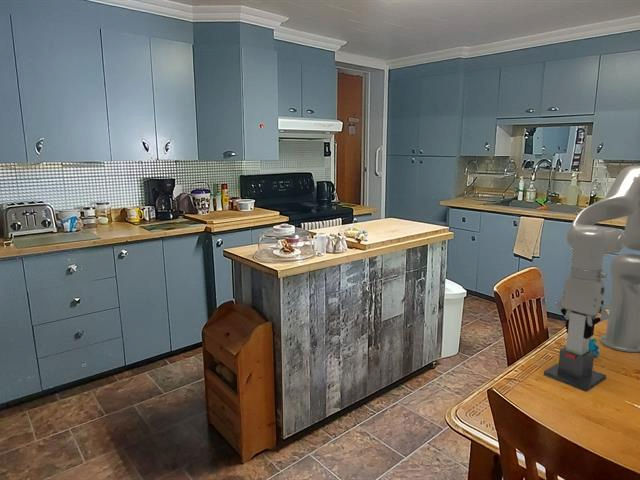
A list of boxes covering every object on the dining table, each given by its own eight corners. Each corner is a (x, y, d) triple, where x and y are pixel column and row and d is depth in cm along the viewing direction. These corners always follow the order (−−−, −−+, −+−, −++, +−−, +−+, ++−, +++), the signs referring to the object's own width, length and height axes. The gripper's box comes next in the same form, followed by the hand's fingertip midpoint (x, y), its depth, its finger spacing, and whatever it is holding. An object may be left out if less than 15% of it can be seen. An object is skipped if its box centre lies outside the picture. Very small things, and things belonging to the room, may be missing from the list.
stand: (563, 363, 138) (565, 339, 136) (605, 378, 128) (608, 352, 127) (543, 374, 131) (545, 349, 129) (586, 391, 121) (589, 364, 120)
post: (572, 353, 132) (576, 308, 129) (587, 359, 128) (593, 313, 125) (564, 357, 129) (569, 312, 126) (580, 363, 126) (585, 316, 123)
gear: (589, 357, 139) (571, 327, 144) (574, 364, 143) (557, 335, 148) (608, 353, 144) (590, 325, 150) (592, 360, 148) (575, 333, 154)
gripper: (624, 277, 119) (617, 341, 123) (561, 265, 133) (555, 323, 136) (613, 282, 115) (605, 348, 118) (548, 269, 128) (543, 329, 132)
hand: (578, 334), depth 127 cm, fingers closed on post, 4 cm apart
